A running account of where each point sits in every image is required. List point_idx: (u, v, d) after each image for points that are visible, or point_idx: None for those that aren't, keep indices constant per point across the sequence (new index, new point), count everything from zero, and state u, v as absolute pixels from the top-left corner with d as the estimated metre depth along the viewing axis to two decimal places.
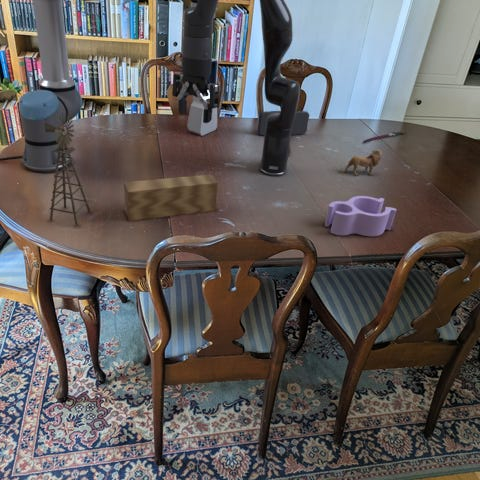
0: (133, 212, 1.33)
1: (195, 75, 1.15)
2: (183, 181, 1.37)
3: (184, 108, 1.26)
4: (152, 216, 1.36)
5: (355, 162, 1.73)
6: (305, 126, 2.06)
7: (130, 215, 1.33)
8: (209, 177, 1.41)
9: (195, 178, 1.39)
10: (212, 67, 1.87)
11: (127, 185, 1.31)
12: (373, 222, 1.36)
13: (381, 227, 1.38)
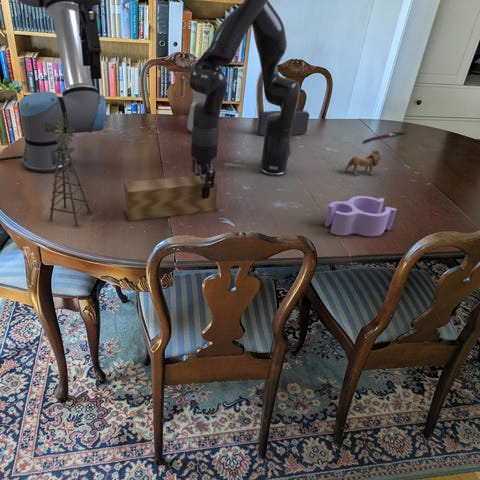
0: (133, 212, 1.33)
1: (197, 157, 1.32)
2: (183, 181, 1.37)
3: None
4: (152, 216, 1.36)
5: (355, 162, 1.73)
6: (305, 126, 2.06)
7: (130, 215, 1.33)
8: None
9: (195, 178, 1.39)
10: None
11: (127, 185, 1.31)
12: (373, 222, 1.36)
13: (381, 227, 1.38)
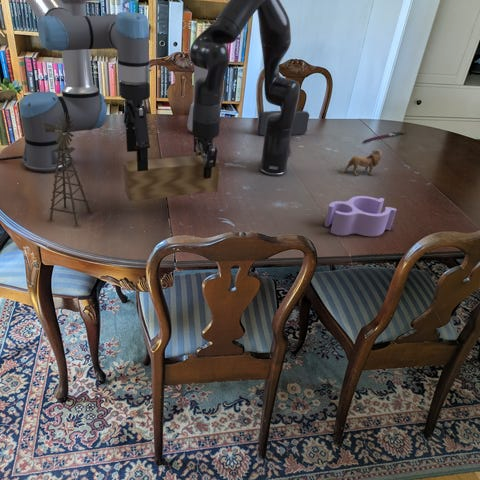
0: (133, 192, 1.29)
1: (198, 135, 1.28)
2: (184, 161, 1.33)
3: None
4: (152, 196, 1.32)
5: (355, 162, 1.73)
6: (305, 126, 2.06)
7: (130, 195, 1.29)
8: None
9: (196, 158, 1.36)
10: None
11: (126, 164, 1.28)
12: (373, 222, 1.36)
13: (381, 227, 1.38)
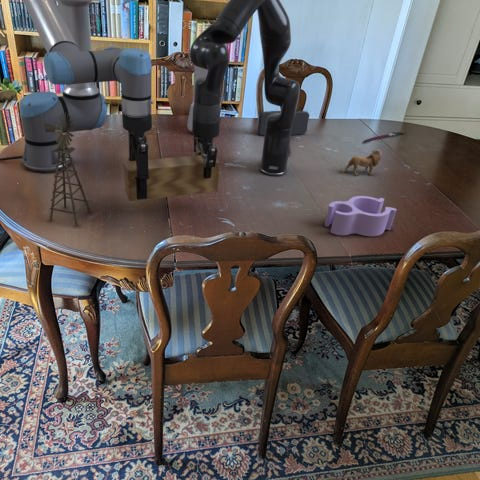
0: (133, 192, 1.29)
1: (198, 135, 1.28)
2: (184, 161, 1.33)
3: None
4: (152, 196, 1.32)
5: (355, 162, 1.73)
6: (305, 126, 2.06)
7: (130, 195, 1.29)
8: None
9: (196, 158, 1.36)
10: None
11: (126, 164, 1.28)
12: (373, 222, 1.36)
13: (381, 227, 1.38)
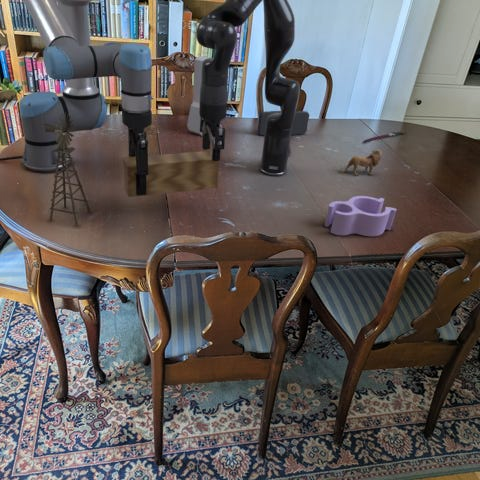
0: (132, 188, 1.29)
1: (205, 117, 1.27)
2: (183, 157, 1.33)
3: (207, 144, 1.38)
4: (152, 192, 1.32)
5: (355, 162, 1.73)
6: (305, 126, 2.06)
7: (129, 191, 1.29)
8: (211, 153, 1.37)
9: (196, 154, 1.35)
10: None
11: (126, 160, 1.27)
12: (373, 222, 1.36)
13: (381, 227, 1.38)
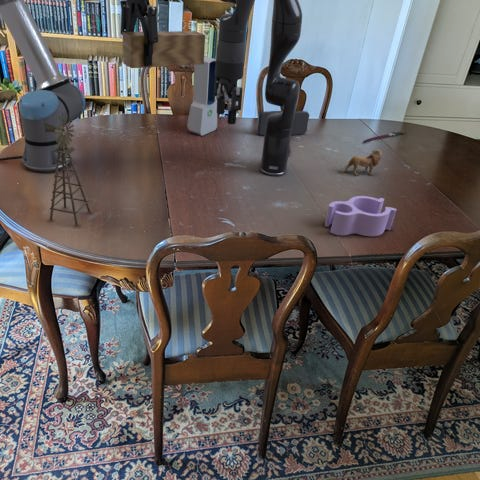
0: (134, 59, 1.44)
1: (222, 76, 1.22)
2: (174, 33, 1.50)
3: (221, 108, 1.34)
4: None
5: (355, 162, 1.73)
6: (305, 126, 2.06)
7: (132, 62, 1.44)
8: (196, 32, 1.56)
9: (184, 32, 1.53)
10: (212, 67, 1.87)
11: (127, 33, 1.42)
12: (373, 222, 1.36)
13: (381, 227, 1.38)
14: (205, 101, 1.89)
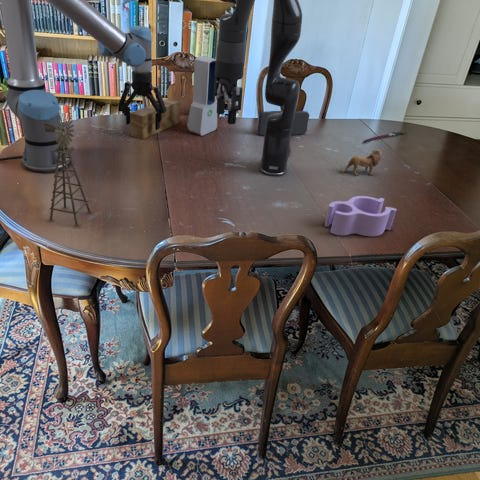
0: (144, 132, 1.86)
1: (222, 76, 1.22)
2: None
3: (221, 108, 1.34)
4: (152, 133, 1.91)
5: (355, 162, 1.73)
6: (305, 126, 2.06)
7: (143, 134, 1.86)
8: (171, 100, 2.02)
9: (164, 102, 1.99)
10: (212, 67, 1.87)
11: (135, 113, 1.83)
12: (373, 222, 1.36)
13: (381, 227, 1.38)
14: (205, 101, 1.89)
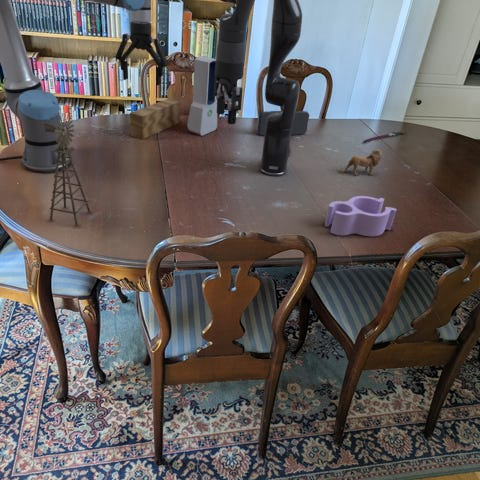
0: (144, 132, 1.86)
1: (222, 76, 1.22)
2: (161, 105, 1.95)
3: (221, 108, 1.34)
4: (152, 133, 1.91)
5: (355, 162, 1.73)
6: (305, 126, 2.06)
7: (143, 134, 1.86)
8: (171, 100, 2.02)
9: (164, 102, 1.99)
10: (212, 67, 1.87)
11: (135, 113, 1.83)
12: (373, 222, 1.36)
13: (381, 227, 1.38)
14: (205, 101, 1.89)
